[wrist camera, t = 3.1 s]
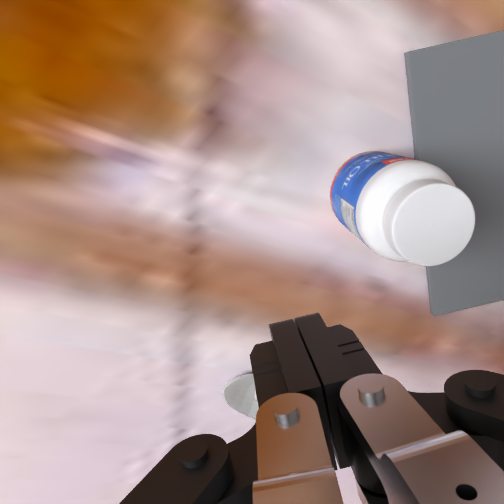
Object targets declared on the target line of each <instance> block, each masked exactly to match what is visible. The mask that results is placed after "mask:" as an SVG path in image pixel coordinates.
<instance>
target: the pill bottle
mask: <svg viewBox="0 0 504 504" xmlns="http://www.w3.org/2000/svg"><path fill="white" fill-rule="evenodd" d="M330 202H331V206H332V209H333V212H334V214H335V215H336V217H337V218H338V220H339V221H340V222H341V223H342V224H343V225H344V226H345V227H346V228H347V229H349V230H350V231H351V232H352V233H353V234H354V235H356V236H357V237H358V238H359V239H360V240H361V241H362V242H364V243H365V244H366V245H367V246H368V247H369V248H370V249H372V250H373V251H374V252H376V253H377V254H378V255H380V256H382V257H384V258H386V259H389V260H393V261H399V262H411V263H413V264H416V265H420V266H435V265H440V264H443V263H445V262H448V261H450V260H451V259H453V258H454V257H456V256H457V255H458V254H459V253H460V252H461V251H462V250H463V249H464V248H465V247H466V245H467V244H468V242H469V241H470V239H471V237H472V234H473V231H474V226H475V212H474V208H473V205H472V203H471V201H470V199H469V198H468V196H467V195H466V194H465V193H464V192H463V191H462V190H460V189H459V188H457V187H456V186H455V184H454V182H453V180H452V179H451V178H450V177H449V175H448V174H447V173H445V172H444V171H443V170H442V169H440V168H439V167H437V166H435V165H433V164H430V163H427V162H424V161H420V160H415V159H411V158H406V157H401V156H397V155H392V154H388V153H384V152H376V151H375V152H364V153H360V154H357V155H355V156H353V157H351V158H350V159H348V160H347V161H346V162H345V163H343V164H342V165H341V167H340V168H339V169H338V170H337V172H336V174H335V176H334V178H333V180H332V183H331V187H330Z"/></svg>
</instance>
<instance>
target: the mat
mask: <svg viewBox="0 0 504 504" xmlns="http://www.w3.org/2000/svg"><path fill="white" fill-rule="evenodd" d="M404 55H405V65H406V75H407V84H408V94H409V104H410V114H411V124H412V133H413V143H414V153H415V160H420V161H424V162H427V163H430V164H433V165H435V166H437V167H439V168H440V169H442V170H443V171H444V172H445V173H447V174H448V175H449V177H450V178H451V179H452V180H453V182H454V184H455V186H456V187H457V188H459V189H460V190H462V191H463V192H464V193H465V194H466V195H467V196H468V198H469V199H470V201H471V203H472V205H473V208H474V212H475V226H474V231H473V234H472V237H471V239H470V241H469V242H468V244H467V245H466V247H465V248H464V249H463V250H462V251H461V252H460V253H459V254H458V255H457V256H456V257H454V258H453V259H451V260H450V261H448V262H445V263H443V264H440V265H435V266H426V271H427V280H428V290H429V300H430V310H431V313H432V314H433V315H434V316H438V315H442V314H446V313H450V312H455V311H459V310H463V309H467V308H471V307H475V306H480V305H484V304H488V303H492V302H496V301H501V300H504V30H503V31H498V32H494V33H489V34H485V35H481V36H476V37H472V38H467V39H463V40H458V41H454V42H450V43H445V44H441V45H436V46H432V47H427V48H423V49H419V50H414V51H410V52H406V53H404Z"/></svg>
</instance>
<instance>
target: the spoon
mask: <svg viewBox="0 0 504 504" xmlns="http://www.w3.org/2000/svg"><path fill="white" fill-rule="evenodd" d="M255 390H256V389H255V383H254V377H253V373H252V374H245V375H242V376H238V377H236V378H235V379H233V380H231V381H230V382H228V383H227V384H226V385H225V386H224V387H223V396H224V399H225V401H226V402H227V404H228V405H229V406H230V407H232V408H233V409H235V410H236V411H238V412H240V413H242V414H244V415H246V416H248V417H251V418H253V419H256V414H257V411H258V409H259V406H258V401H257V400H255V399H254V392H255Z"/></svg>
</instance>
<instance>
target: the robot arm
mask: <svg viewBox="0 0 504 504" xmlns="http://www.w3.org/2000/svg"><path fill="white" fill-rule="evenodd" d="M294 321H295V323H294ZM294 321H293V319H290V320H285V321H281V322H277V323H273V324H269V328H270V333H271V337H272V341H269V342H265V343H261V344H256V345H255V346H254V348H253V350H252V352H251V354H250V360H251V365H252V371H253V377H254V383H255V389H256V395H257V400H258V406H259V409H258V411H257V414H256V423H255V425H254V426H253V427H252V428H251V429H250V430H249V431H248V432H247V433H246V434H244V435H243V436H241V437H240V438H238V439H236V440H234V441H232V442H230V443H228V444H226V442H225V441H224V440H223V439H222V438H221V437H219V436H216V435H212V434H200V435H195V436H192V437H189V438H187V439H185V440H183V441H181V442H180V443H178V444H177V445H176V446H174V447H173V448H172V449H171V450H170V451H169V452H168V453H167V454H166V455H165V456H164V457H163V458H162V460H161V461H160V462H159V463H158V464H157V465H156V466H155V467H154V468H153V469H152V470H151V471H150V472H149V473H148V474H147V475H146V476H145V477H144V478H143V479H142V480H141V482H140V483H139V484H138V485H137V486H136V487H135V488H134V489H133V490H132V491H131V492H130V493H129V494H128V495H127V496H126V497H125V498H124V499H123V500H122V501H121V502H120V503H119V504H343V500H342V496H341V493H340V489H339V485H338V481H337V477H336V473H335V470H337V465H336V460H335V457H336V459H337V462H338V465H339V467H340V469H342V468H346V467H350V466H351V468H352V470H353V473H354V475H355V480H356V486H357V491H358V495H359V498H360V500H361V502H362V504H504V375H502V374H498V373H494V372H490V371H484V370H468V371H462V372H459V373H456V374H454V375H452V376H451V377H449V378H448V379H447V380H446V382H445V385H444V393H416V392H409V391H407V390H406V389H405V388H404V387H403V386H402V384H401V383H400V382H399V381H397V380H396V379H394V378H392V377H390V376H387V375H383V374H382V373H381V371H380V370H379V368H378V367H377V366H376V364H375V363H374V361H373V360H372V358H371V357H370V355H369V354H368V352H367V351H366V350H365V349H364V347H363V345H362V344H361V342H359V339H358V338H357V336H356V335H355V333H354V332H353V331H352V330H350V329H348V328H346V327H344V326H342V325H336V326H332V327H327V326H326V325H325V323H324V321H323V319H322V318H321V316H320V314H319V313H315V314H310V315H306V316H302V317H298V318H294ZM334 454H335V455H334Z"/></svg>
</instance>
